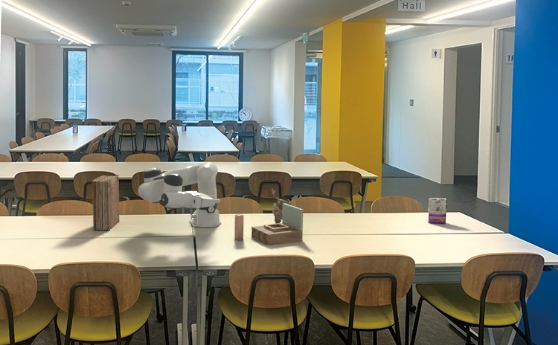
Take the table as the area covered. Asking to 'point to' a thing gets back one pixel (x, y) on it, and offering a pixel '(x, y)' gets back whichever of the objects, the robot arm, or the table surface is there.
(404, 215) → the table surface
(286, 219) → the display plinth
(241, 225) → the light brown tall block
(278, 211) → the brown figurine
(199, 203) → the robot arm
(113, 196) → the book
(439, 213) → the candy bar box
